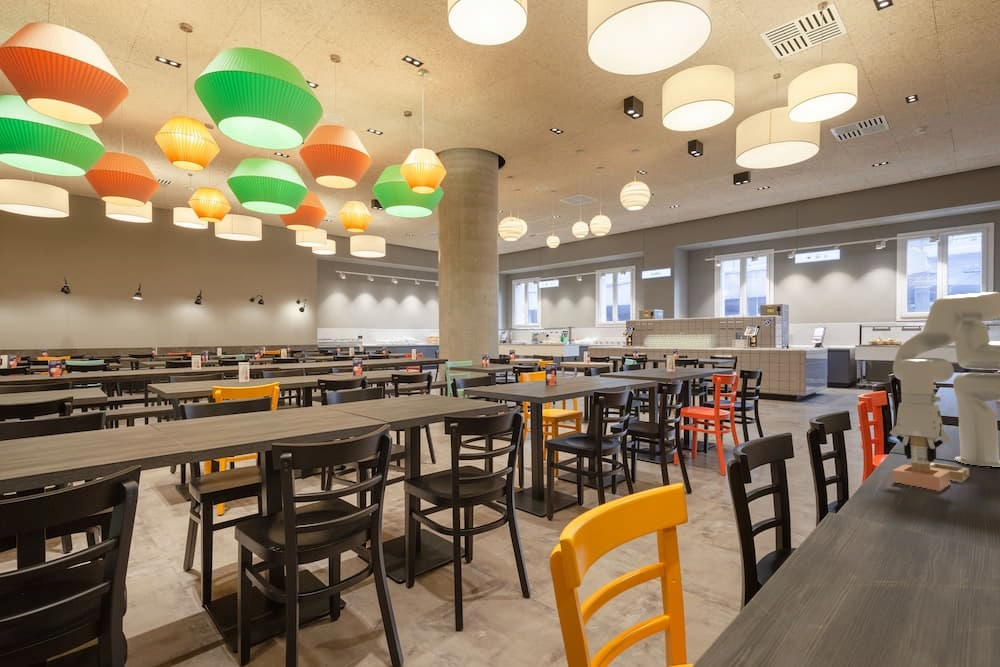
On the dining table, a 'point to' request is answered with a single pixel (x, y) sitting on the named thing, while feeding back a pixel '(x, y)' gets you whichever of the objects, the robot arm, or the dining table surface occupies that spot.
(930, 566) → the dining table surface
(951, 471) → the wooden collar
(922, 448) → the sprinkles bottle
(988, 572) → the dining table surface
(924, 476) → the terracotta socket
